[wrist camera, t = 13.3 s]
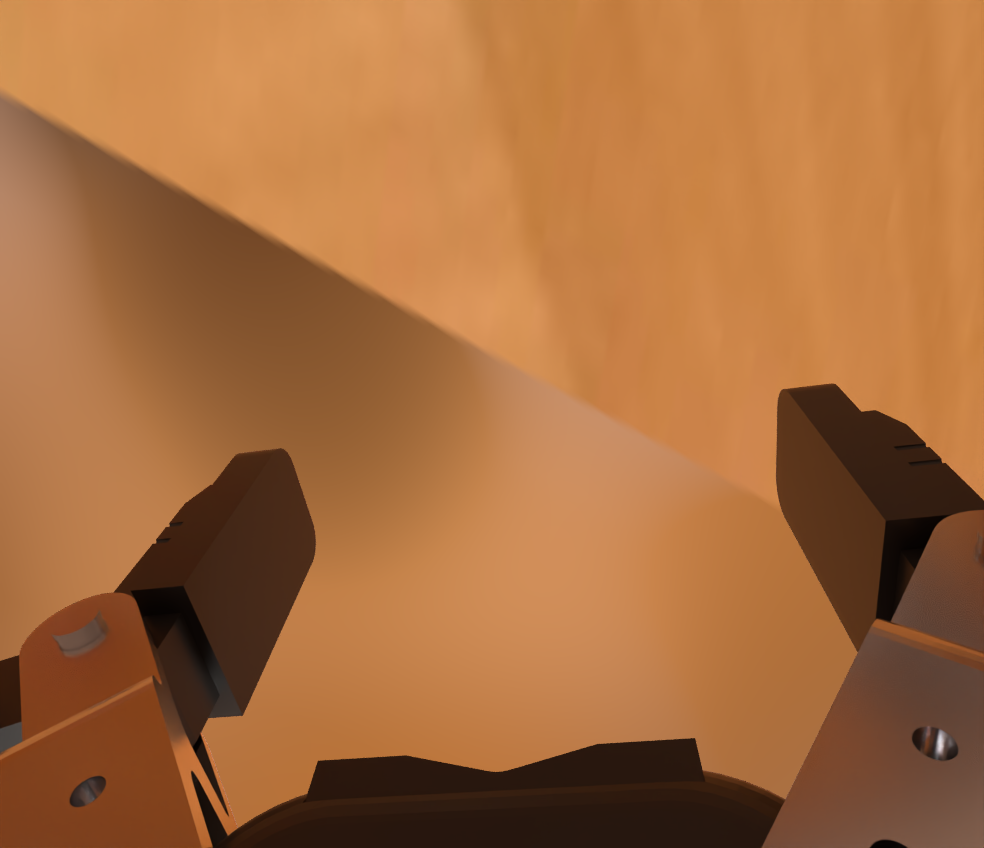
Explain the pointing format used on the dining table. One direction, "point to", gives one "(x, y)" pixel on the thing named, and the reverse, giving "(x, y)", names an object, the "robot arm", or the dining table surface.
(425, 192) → the dining table surface
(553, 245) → the dining table surface
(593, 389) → the dining table surface
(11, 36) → the dining table surface
